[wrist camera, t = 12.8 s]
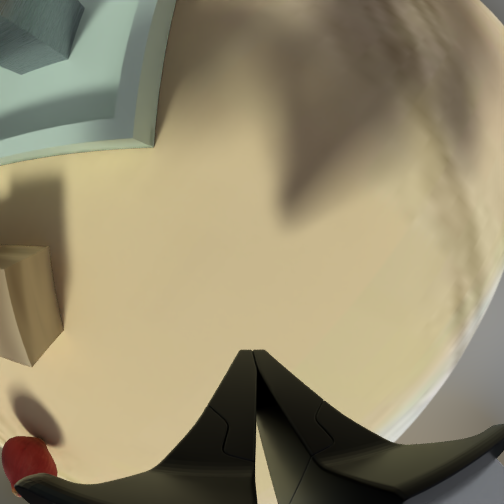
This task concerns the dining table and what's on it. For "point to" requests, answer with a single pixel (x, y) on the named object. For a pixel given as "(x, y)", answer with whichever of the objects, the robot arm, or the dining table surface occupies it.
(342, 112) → the dining table surface
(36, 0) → the pin
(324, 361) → the dining table surface
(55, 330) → the block
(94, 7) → the tray
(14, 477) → the onion
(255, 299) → the dining table surface
